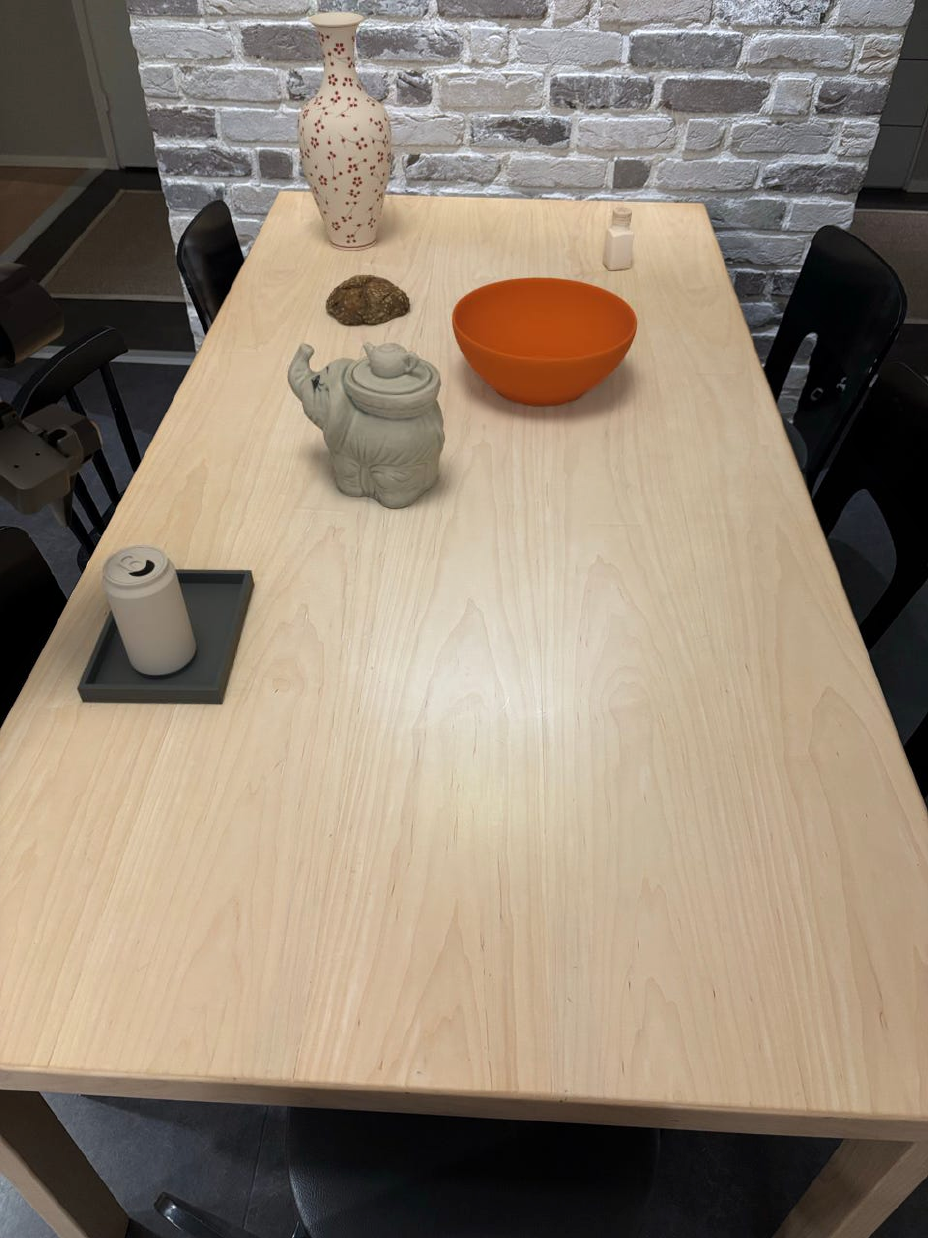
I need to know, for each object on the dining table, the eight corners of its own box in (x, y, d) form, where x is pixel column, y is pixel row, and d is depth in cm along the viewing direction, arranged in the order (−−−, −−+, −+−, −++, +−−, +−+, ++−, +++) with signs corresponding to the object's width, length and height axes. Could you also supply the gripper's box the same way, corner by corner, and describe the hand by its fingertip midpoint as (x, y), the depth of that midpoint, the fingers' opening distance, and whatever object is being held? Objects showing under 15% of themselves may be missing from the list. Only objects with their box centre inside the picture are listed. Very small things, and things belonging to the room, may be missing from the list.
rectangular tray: (222, 704, 86) (218, 690, 85) (82, 702, 86) (76, 688, 85) (254, 583, 99) (251, 569, 97) (132, 582, 99) (128, 568, 97)
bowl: (571, 328, 143) (577, 265, 136) (663, 403, 126) (674, 336, 119) (424, 361, 135) (422, 295, 128) (501, 446, 118) (504, 376, 112)
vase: (363, 266, 160) (347, 32, 136) (291, 247, 166) (262, 20, 142) (413, 235, 170) (406, 13, 146) (343, 219, 176) (325, 3, 152)
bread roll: (370, 285, 154) (368, 256, 150) (420, 308, 148) (420, 278, 144) (310, 309, 147) (307, 279, 144) (361, 334, 141) (358, 303, 138)
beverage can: (164, 690, 87) (133, 596, 78) (116, 663, 89) (82, 570, 81) (211, 649, 91) (187, 556, 82) (164, 625, 93) (136, 532, 85)
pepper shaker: (601, 262, 161) (607, 206, 155) (622, 260, 162) (629, 205, 156) (609, 271, 159) (615, 215, 152) (630, 269, 159) (638, 213, 153)
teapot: (296, 459, 116) (276, 318, 103) (405, 432, 121) (399, 294, 108) (340, 532, 105) (324, 385, 92) (458, 499, 110) (459, 355, 97)
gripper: (-87, 487, 62) (-7, 648, 73) (122, 375, 74) (165, 528, 85) (-180, 439, 67) (-91, 597, 77) (32, 340, 78) (83, 489, 89)
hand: (24, 551), depth 82 cm, fingers open, 9 cm apart
